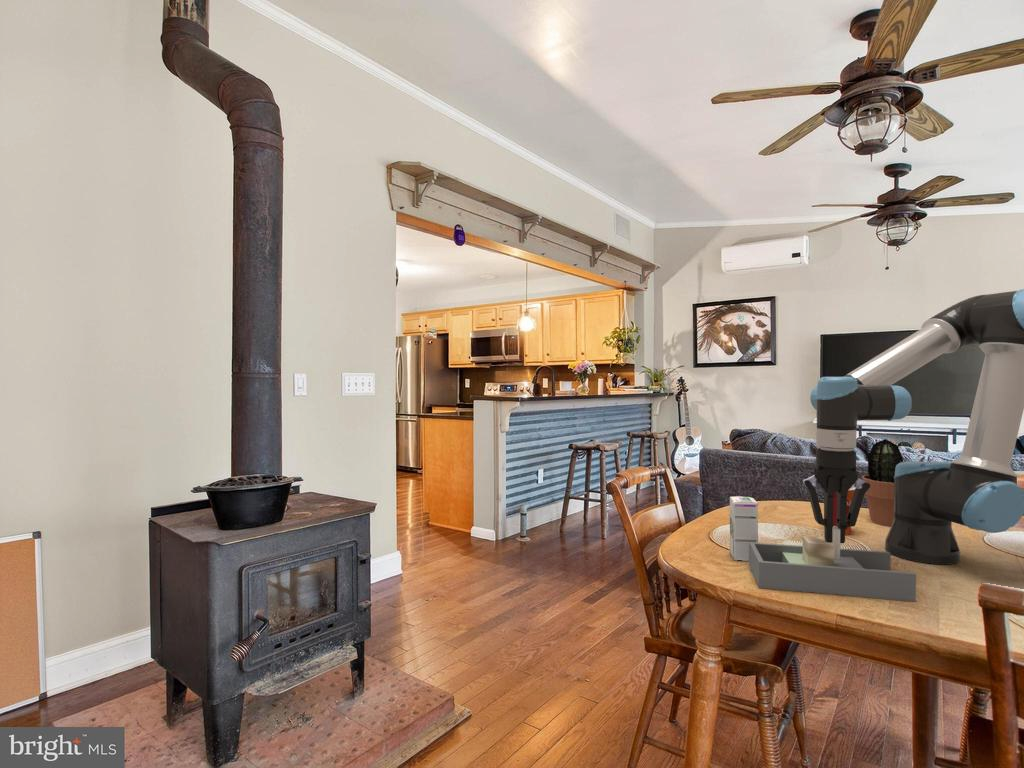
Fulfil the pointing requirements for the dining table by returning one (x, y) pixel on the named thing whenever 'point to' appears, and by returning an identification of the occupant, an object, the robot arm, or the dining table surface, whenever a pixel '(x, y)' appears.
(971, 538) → the dining table surface
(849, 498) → the paper cup
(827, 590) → the trap lane
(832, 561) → the birch block
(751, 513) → the syrup box
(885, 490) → the potted plant
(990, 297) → the robot arm
